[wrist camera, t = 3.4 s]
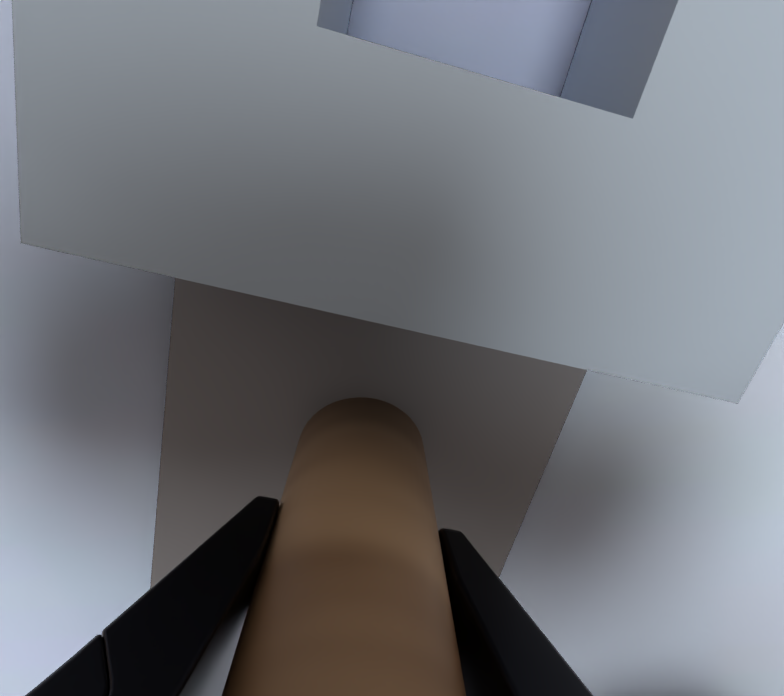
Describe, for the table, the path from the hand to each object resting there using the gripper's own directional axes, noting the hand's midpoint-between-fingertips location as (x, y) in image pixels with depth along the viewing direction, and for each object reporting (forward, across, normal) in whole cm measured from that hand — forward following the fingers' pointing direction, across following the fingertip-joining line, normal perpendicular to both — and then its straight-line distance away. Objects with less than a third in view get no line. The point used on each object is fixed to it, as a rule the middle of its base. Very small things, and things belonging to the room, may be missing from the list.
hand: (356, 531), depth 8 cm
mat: (+4, 0, 0) cm, 4 cm away
